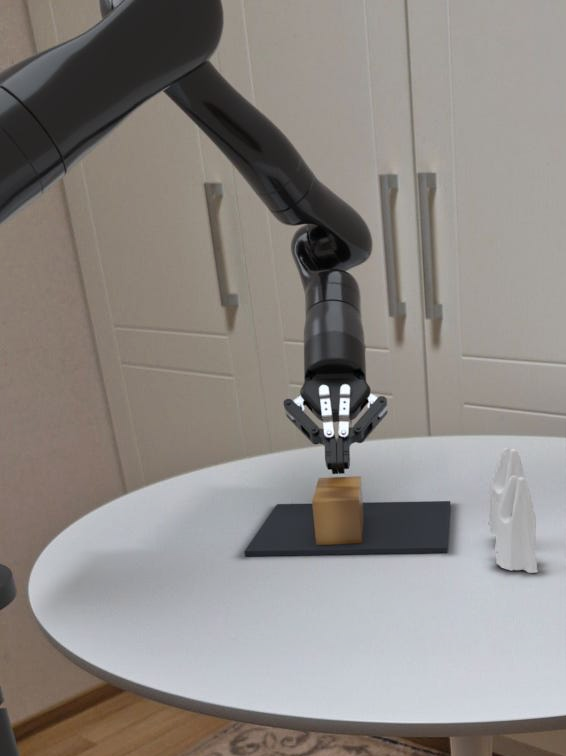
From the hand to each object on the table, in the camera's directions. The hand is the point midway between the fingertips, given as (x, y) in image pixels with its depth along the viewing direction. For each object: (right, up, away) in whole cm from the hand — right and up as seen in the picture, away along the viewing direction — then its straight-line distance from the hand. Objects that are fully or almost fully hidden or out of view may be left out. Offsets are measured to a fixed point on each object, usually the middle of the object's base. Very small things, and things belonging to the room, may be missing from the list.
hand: (338, 470), depth 105 cm
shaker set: (+20, -11, -9) cm, 25 cm away
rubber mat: (+2, -7, 0) cm, 7 cm away
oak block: (0, -3, +1) cm, 3 cm away
